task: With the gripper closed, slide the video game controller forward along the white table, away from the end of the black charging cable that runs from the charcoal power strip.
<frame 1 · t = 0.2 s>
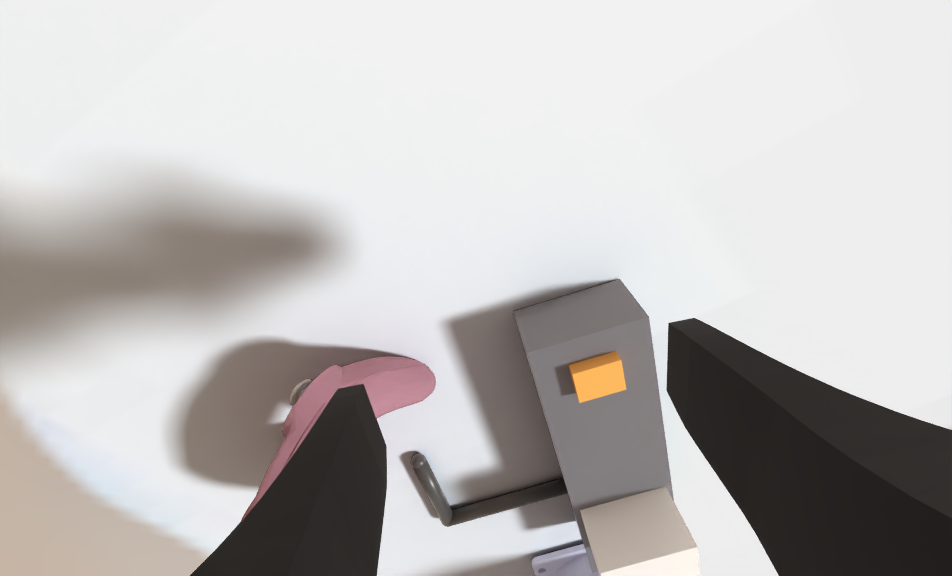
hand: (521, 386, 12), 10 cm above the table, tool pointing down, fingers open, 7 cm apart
power strip: (594, 418, 26), on the table
video game controller: (346, 411, 25), on the table
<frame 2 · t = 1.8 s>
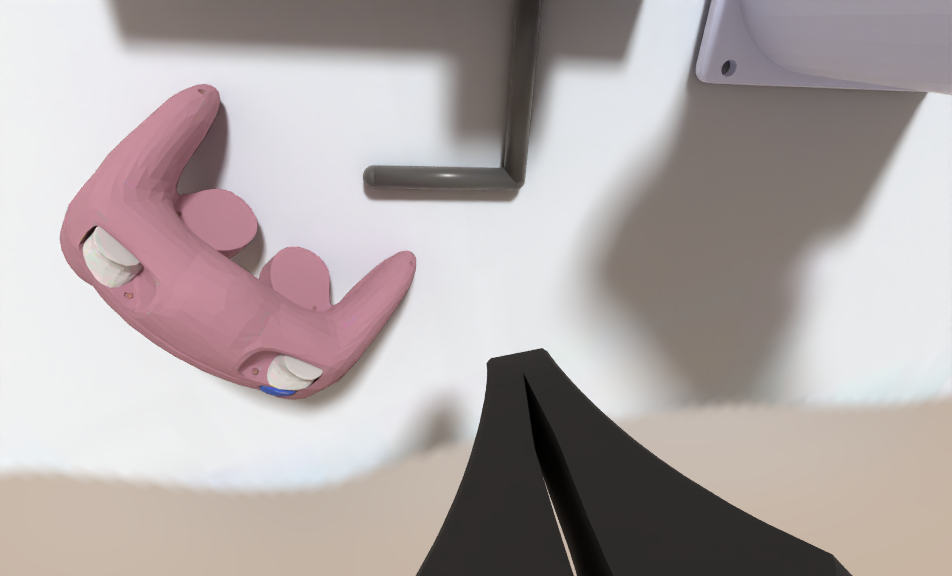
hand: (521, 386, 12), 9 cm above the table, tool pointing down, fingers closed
video game controller: (279, 226, 19), on the table
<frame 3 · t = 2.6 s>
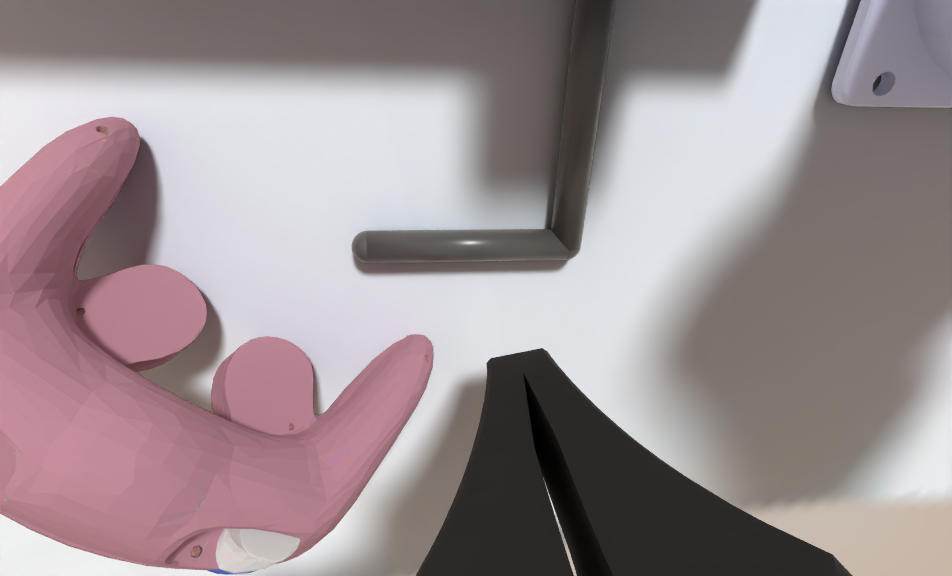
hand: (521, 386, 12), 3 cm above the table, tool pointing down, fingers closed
video game controller: (243, 305, 13), on the table
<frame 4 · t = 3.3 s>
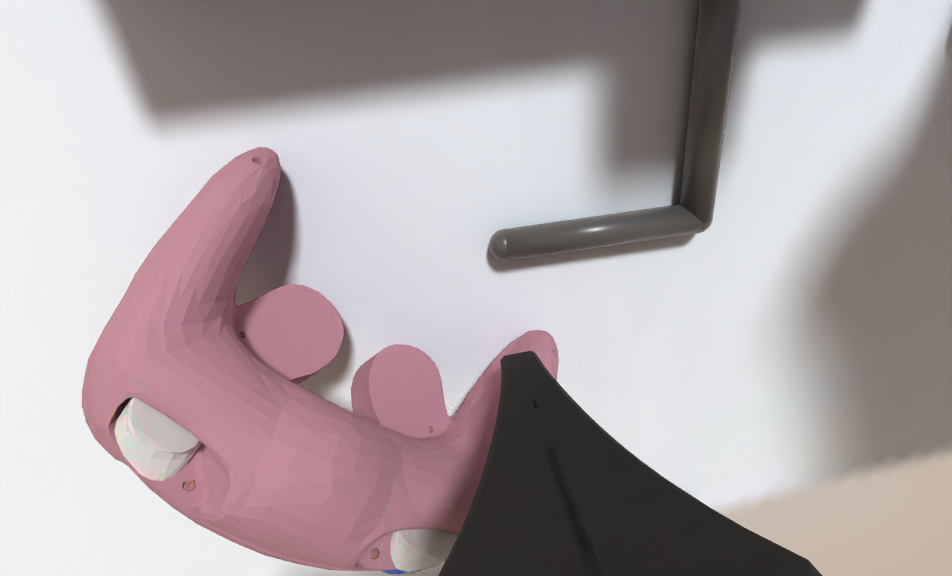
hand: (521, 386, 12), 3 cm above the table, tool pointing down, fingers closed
video game controller: (367, 316, 14), on the table, touching gripper
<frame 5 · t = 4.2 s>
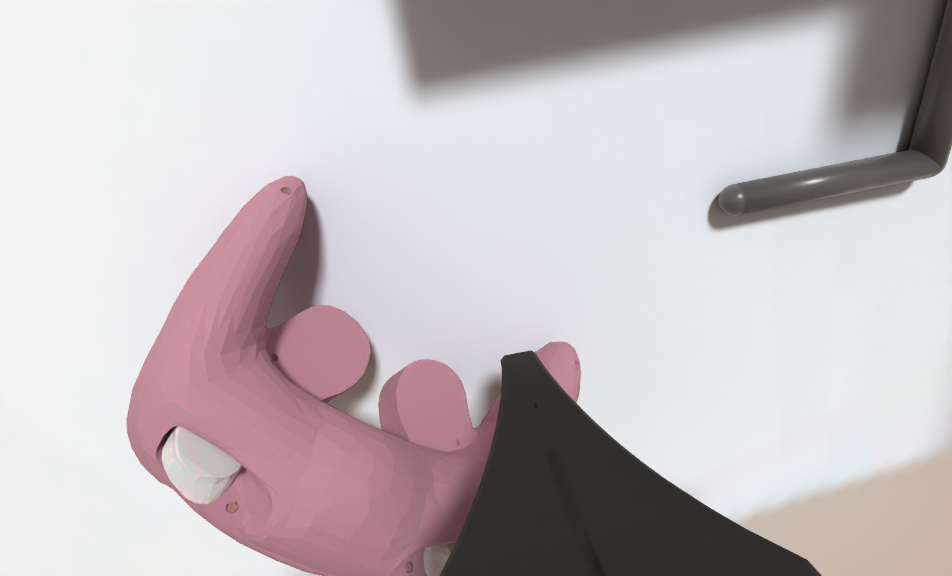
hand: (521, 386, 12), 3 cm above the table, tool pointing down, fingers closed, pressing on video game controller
video game controller: (391, 332, 14), on the table, touching gripper
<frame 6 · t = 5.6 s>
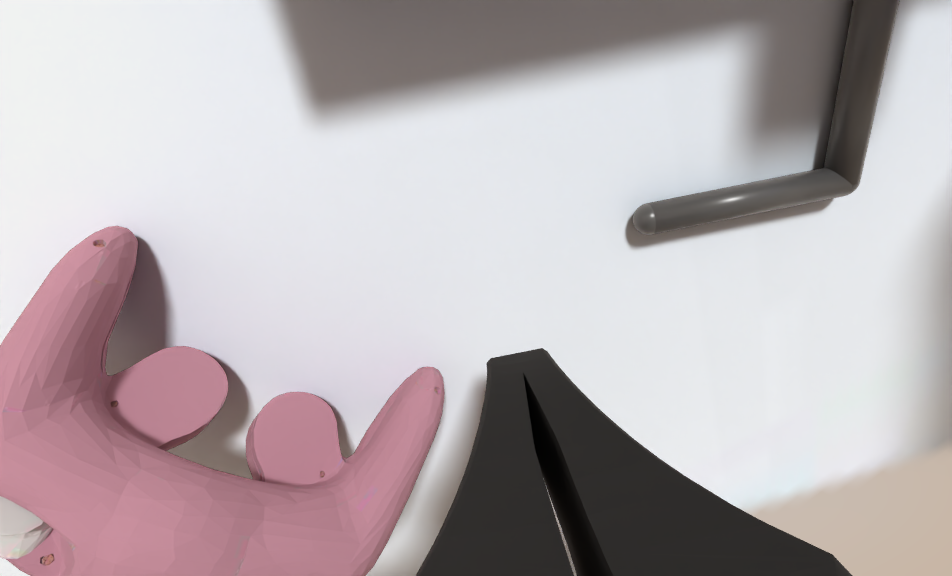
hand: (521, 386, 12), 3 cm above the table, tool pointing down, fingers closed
video game controller: (262, 366, 14), on the table
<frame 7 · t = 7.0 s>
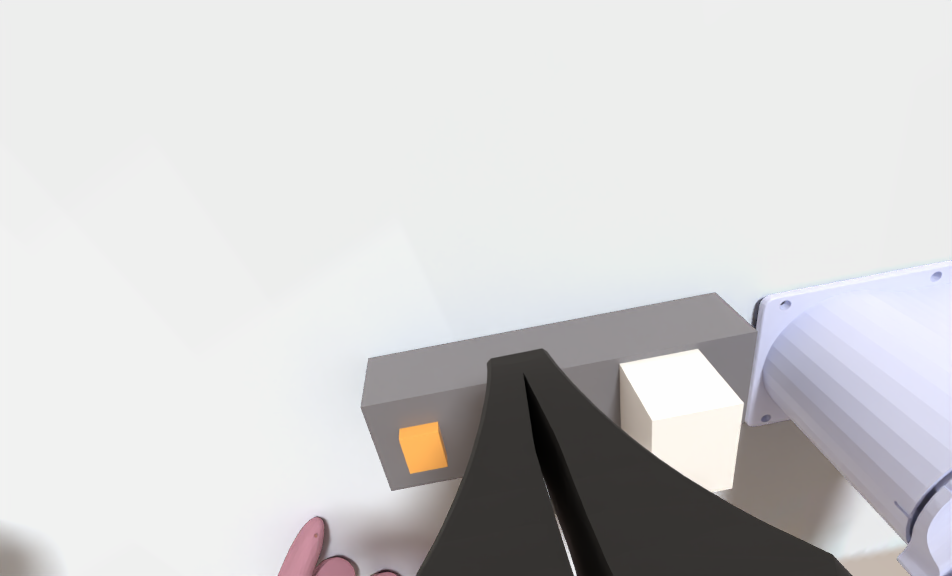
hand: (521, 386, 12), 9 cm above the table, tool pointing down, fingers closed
power strip: (547, 368, 23), on the table
video game controller: (366, 557, 29), on the table
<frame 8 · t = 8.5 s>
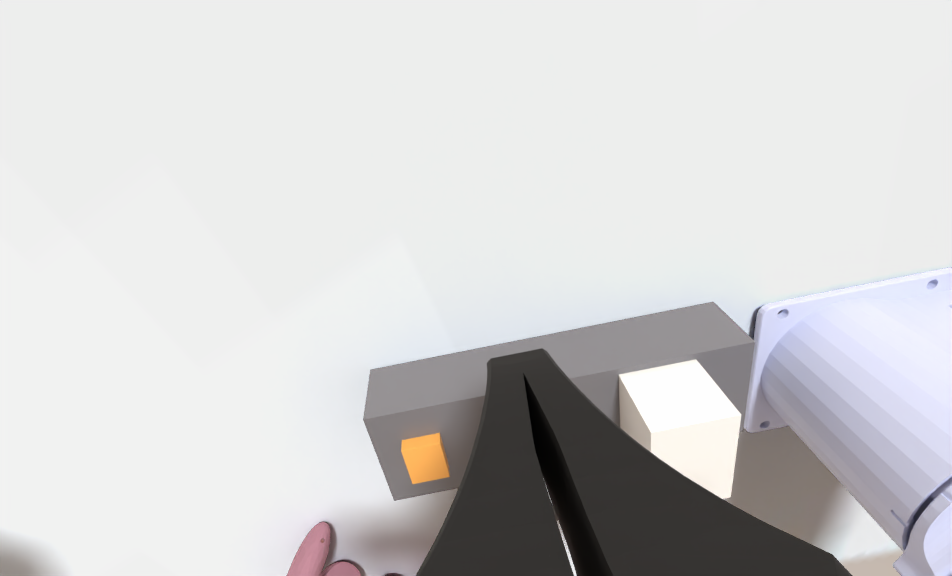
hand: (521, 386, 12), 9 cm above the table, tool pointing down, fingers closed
power strip: (547, 377, 24), on the table
video game controller: (372, 561, 29), on the table
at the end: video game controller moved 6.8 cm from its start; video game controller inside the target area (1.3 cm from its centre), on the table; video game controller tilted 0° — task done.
